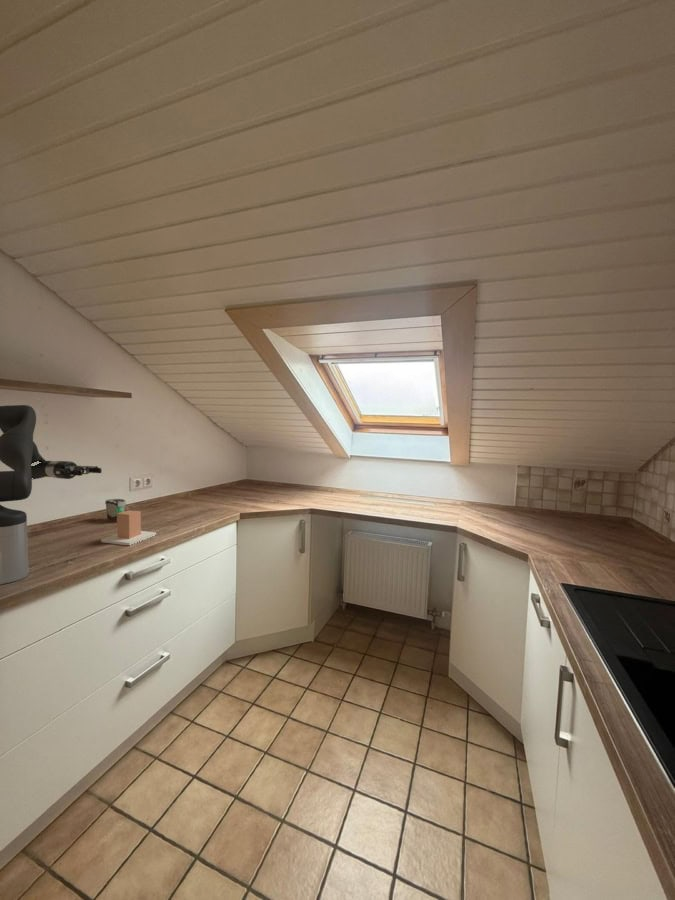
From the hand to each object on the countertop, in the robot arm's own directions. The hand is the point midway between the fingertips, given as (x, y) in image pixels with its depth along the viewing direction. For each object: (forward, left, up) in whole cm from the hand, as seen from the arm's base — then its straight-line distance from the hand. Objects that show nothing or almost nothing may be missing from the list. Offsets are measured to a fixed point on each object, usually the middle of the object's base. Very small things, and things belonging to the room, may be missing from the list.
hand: (91, 471), depth 143 cm
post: (+3, -16, -28) cm, 32 cm away
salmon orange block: (+3, -16, -27) cm, 31 cm away
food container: (+24, +12, -28) cm, 39 cm away
